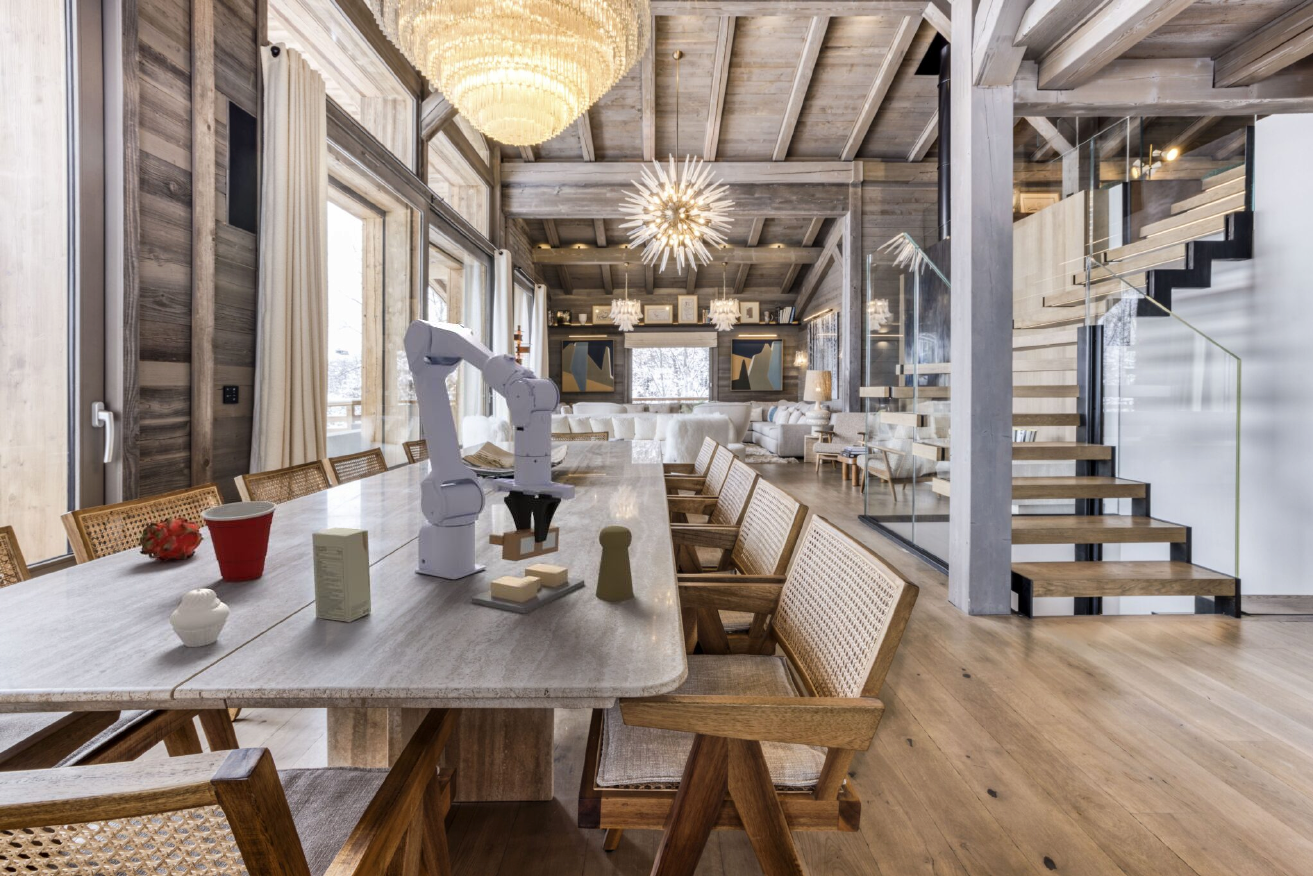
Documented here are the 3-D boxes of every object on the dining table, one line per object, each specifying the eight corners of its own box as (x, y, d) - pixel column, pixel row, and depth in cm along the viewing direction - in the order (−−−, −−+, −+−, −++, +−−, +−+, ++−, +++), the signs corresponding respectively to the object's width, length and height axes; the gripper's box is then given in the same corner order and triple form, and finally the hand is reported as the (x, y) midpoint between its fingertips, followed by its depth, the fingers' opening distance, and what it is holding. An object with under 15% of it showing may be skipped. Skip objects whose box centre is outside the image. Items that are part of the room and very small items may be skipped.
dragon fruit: (137, 577, 113) (193, 568, 125) (175, 550, 112) (228, 544, 124) (115, 536, 114) (173, 531, 126) (152, 509, 113) (207, 507, 125)
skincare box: (372, 613, 93) (371, 529, 92) (349, 623, 89) (347, 536, 88) (337, 607, 95) (335, 525, 94) (312, 617, 91) (311, 531, 90)
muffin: (164, 655, 78) (161, 598, 77) (178, 636, 83) (176, 583, 83) (225, 648, 80) (223, 592, 80) (234, 630, 86) (233, 578, 85)
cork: (628, 602, 100) (629, 532, 99) (590, 599, 101) (591, 529, 100) (637, 590, 106) (638, 524, 105) (601, 587, 107) (602, 522, 106)
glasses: (488, 557, 99) (489, 531, 99) (535, 547, 109) (536, 523, 109) (514, 561, 97) (515, 535, 97) (559, 550, 107) (560, 526, 107)
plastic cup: (185, 585, 104) (182, 511, 103) (237, 566, 115) (235, 499, 114) (247, 589, 103) (244, 514, 102) (293, 570, 114) (291, 502, 113)
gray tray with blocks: (471, 602, 98) (471, 583, 98) (535, 576, 113) (535, 559, 113) (524, 613, 94) (524, 593, 94) (584, 584, 108) (584, 567, 108)
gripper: (479, 454, 101) (479, 539, 102) (556, 460, 95) (555, 551, 96) (508, 450, 107) (508, 531, 109) (582, 456, 101) (581, 541, 102)
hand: (532, 540), depth 103 cm, fingers closed on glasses, 3 cm apart
